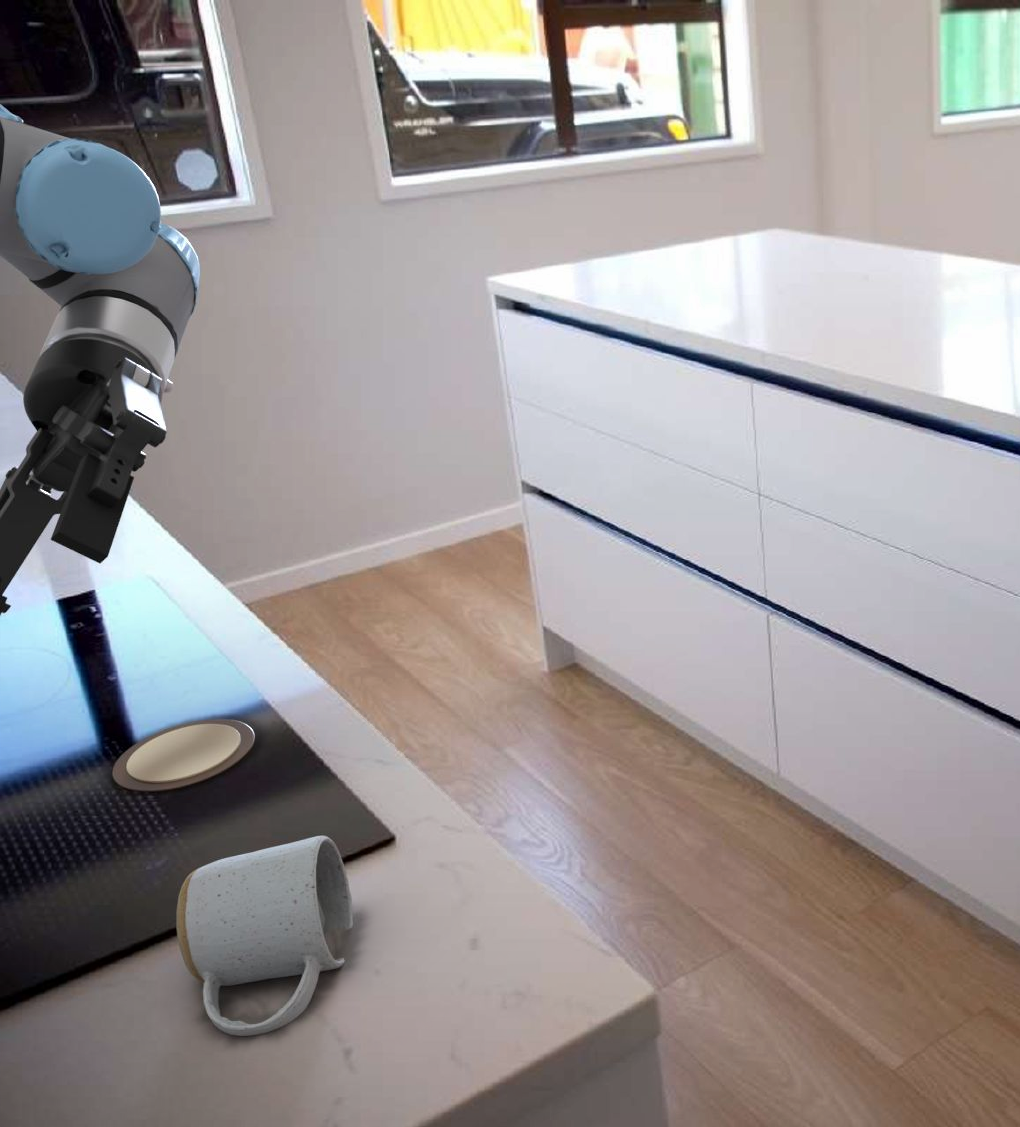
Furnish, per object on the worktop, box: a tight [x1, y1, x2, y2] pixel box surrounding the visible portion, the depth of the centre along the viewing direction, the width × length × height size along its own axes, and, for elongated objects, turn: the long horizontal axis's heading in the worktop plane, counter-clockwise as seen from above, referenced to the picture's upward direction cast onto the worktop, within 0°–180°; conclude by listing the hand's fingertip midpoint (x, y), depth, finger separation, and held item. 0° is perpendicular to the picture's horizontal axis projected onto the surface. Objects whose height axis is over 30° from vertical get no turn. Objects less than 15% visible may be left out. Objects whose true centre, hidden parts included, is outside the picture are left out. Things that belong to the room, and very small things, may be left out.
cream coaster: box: [111, 718, 256, 793], centre depth 98 cm, size 10×10×1 cm
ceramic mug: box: [175, 835, 354, 1037], centre depth 74 cm, size 11×8×8 cm
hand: (10, 613), depth 71 cm, fingers open, 13 cm apart
